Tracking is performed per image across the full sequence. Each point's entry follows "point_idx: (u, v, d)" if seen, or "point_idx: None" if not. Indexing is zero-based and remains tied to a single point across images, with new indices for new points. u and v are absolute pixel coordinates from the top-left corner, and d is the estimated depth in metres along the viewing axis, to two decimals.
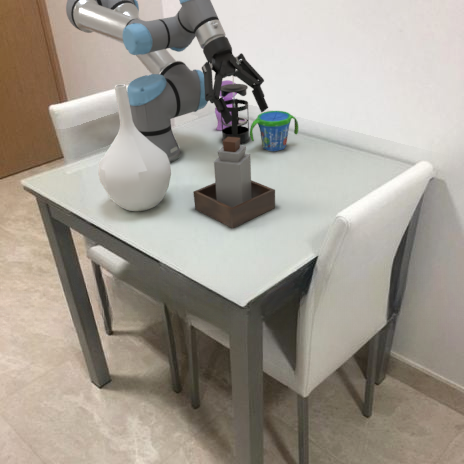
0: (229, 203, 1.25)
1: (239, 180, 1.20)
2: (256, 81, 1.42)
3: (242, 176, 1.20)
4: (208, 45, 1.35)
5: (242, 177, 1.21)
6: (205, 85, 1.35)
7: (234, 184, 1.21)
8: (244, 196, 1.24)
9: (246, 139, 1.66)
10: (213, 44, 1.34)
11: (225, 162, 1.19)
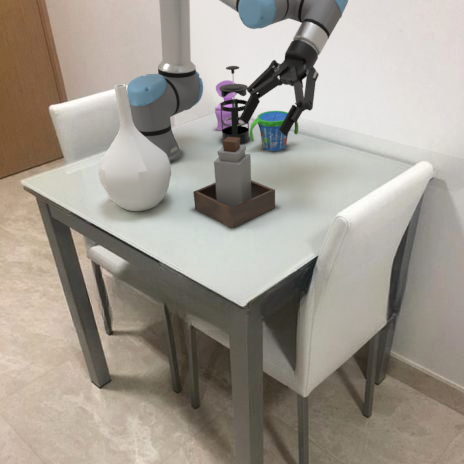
0: (229, 203, 1.25)
1: (239, 180, 1.20)
2: None
3: (242, 176, 1.20)
4: (317, 57, 1.21)
5: (242, 177, 1.21)
6: (310, 90, 1.17)
7: (234, 184, 1.21)
8: (244, 196, 1.24)
9: (246, 139, 1.66)
10: (315, 62, 1.22)
11: (225, 162, 1.19)
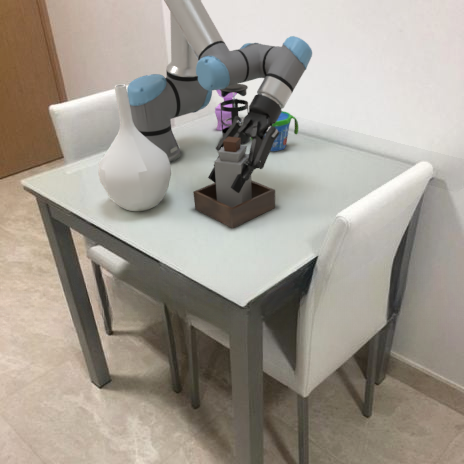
0: (229, 203, 1.25)
1: None
2: None
3: None
4: (280, 111, 1.21)
5: None
6: (265, 149, 1.18)
7: None
8: (244, 196, 1.24)
9: None
10: (279, 115, 1.22)
11: (225, 162, 1.19)
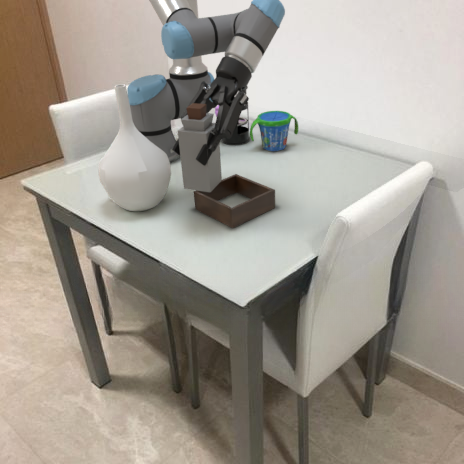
0: (196, 177, 1.14)
1: None
2: None
3: None
4: (250, 75, 1.10)
5: None
6: (232, 117, 1.07)
7: None
8: (212, 170, 1.13)
9: (246, 139, 1.66)
10: (249, 80, 1.11)
11: (190, 131, 1.08)
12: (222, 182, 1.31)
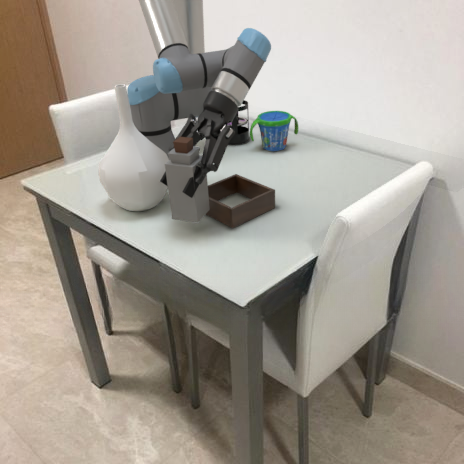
0: (183, 208, 1.16)
1: None
2: None
3: None
4: (236, 109, 1.11)
5: None
6: (218, 151, 1.08)
7: None
8: (199, 201, 1.15)
9: (246, 139, 1.66)
10: (236, 113, 1.13)
11: (176, 164, 1.10)
12: (222, 182, 1.31)
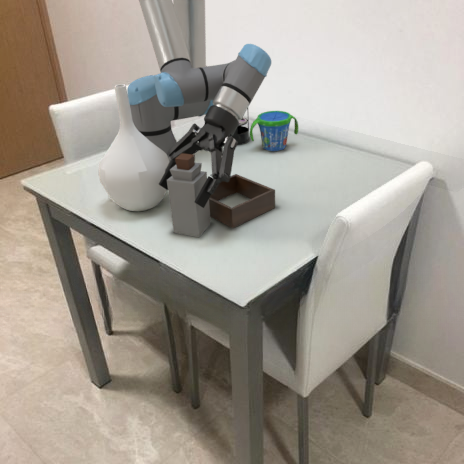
0: (185, 223, 1.18)
1: (193, 200, 1.13)
2: None
3: (196, 195, 1.13)
4: (237, 123, 1.13)
5: None
6: (227, 161, 1.09)
7: (189, 203, 1.14)
8: (200, 216, 1.17)
9: (246, 139, 1.66)
10: None
11: (178, 180, 1.12)
12: (222, 182, 1.31)
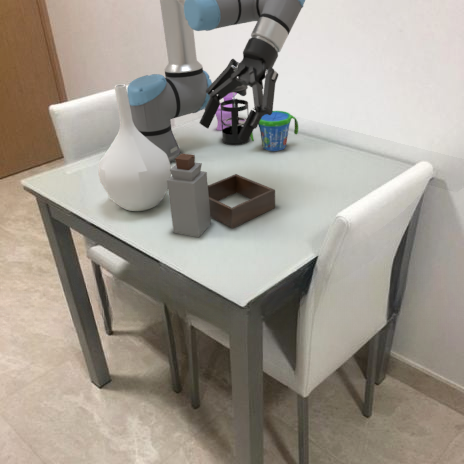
0: (185, 223, 1.18)
1: (193, 200, 1.13)
2: None
3: (196, 195, 1.13)
4: (277, 55, 1.13)
5: (197, 196, 1.13)
6: (269, 93, 1.10)
7: (189, 203, 1.14)
8: (200, 216, 1.17)
9: None
10: None
11: (178, 180, 1.12)
12: (222, 182, 1.31)
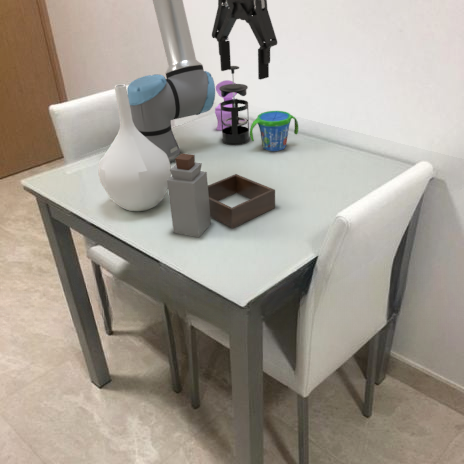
0: (185, 223, 1.18)
1: (193, 200, 1.13)
2: None
3: (196, 195, 1.13)
4: None
5: (197, 196, 1.13)
6: (266, 26, 1.12)
7: (189, 203, 1.14)
8: (200, 216, 1.17)
9: (246, 139, 1.66)
10: None
11: (178, 180, 1.12)
12: (222, 182, 1.31)
